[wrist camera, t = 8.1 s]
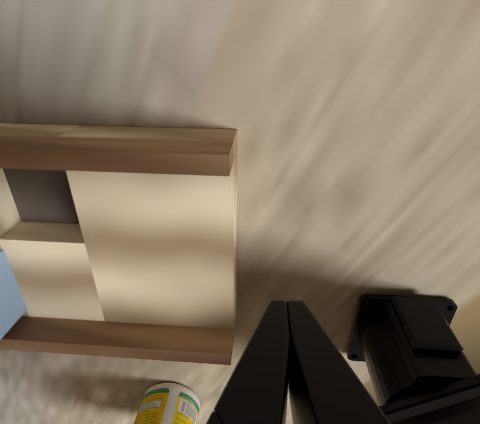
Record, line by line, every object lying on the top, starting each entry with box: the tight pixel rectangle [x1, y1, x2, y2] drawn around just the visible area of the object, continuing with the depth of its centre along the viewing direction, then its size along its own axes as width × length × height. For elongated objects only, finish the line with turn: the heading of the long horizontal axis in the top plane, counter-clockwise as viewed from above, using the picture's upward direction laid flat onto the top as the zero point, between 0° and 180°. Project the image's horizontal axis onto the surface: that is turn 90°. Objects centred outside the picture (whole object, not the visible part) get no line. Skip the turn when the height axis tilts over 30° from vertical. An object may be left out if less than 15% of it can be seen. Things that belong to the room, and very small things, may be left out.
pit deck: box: [0, 123, 237, 365], centre depth 20 cm, size 14×20×4 cm
